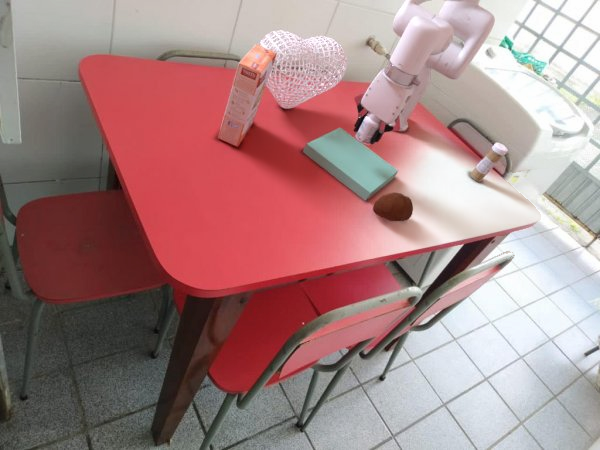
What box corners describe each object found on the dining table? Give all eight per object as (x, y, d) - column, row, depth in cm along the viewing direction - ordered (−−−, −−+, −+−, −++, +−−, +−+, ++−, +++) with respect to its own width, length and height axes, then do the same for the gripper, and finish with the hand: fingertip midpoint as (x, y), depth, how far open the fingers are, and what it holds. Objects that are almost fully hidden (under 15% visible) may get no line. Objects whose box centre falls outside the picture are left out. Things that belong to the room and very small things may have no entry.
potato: (412, 228, 106) (429, 207, 100) (376, 229, 100) (392, 206, 95) (398, 207, 110) (414, 186, 105) (364, 206, 105) (378, 184, 99)
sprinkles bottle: (475, 173, 141) (501, 142, 132) (483, 182, 139) (511, 151, 130) (466, 173, 139) (493, 141, 130) (475, 182, 136) (502, 151, 127)
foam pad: (335, 135, 125) (340, 127, 123) (393, 178, 119) (398, 170, 117) (302, 152, 112) (306, 143, 110) (365, 201, 107) (370, 193, 105)
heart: (308, 94, 137) (335, 29, 122) (332, 122, 129) (364, 56, 115) (234, 91, 121) (254, 16, 106) (257, 124, 113) (282, 48, 98)
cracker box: (238, 148, 103) (262, 73, 89) (216, 139, 102) (237, 61, 88) (254, 123, 113) (278, 52, 99) (234, 114, 112) (255, 41, 99)
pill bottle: (373, 140, 110) (388, 114, 104) (368, 147, 106) (383, 120, 101) (358, 131, 110) (372, 104, 105) (352, 138, 107) (367, 110, 101)
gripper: (435, 90, 96) (396, 151, 109) (378, 53, 100) (346, 115, 113) (423, 96, 91) (384, 159, 103) (364, 56, 95) (333, 121, 107)
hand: (365, 135), depth 108 cm, fingers closed on pill bottle, 4 cm apart
